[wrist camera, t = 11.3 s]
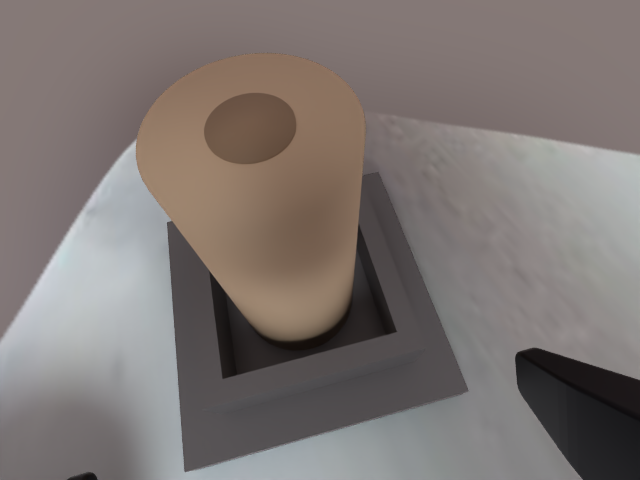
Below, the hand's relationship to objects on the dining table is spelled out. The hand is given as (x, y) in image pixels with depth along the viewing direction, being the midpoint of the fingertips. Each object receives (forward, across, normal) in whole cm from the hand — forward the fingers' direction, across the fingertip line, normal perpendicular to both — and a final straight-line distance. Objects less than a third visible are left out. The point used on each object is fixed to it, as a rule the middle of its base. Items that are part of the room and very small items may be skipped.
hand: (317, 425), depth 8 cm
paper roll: (+13, 0, +3) cm, 14 cm away
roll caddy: (+14, 0, +4) cm, 15 cm away
